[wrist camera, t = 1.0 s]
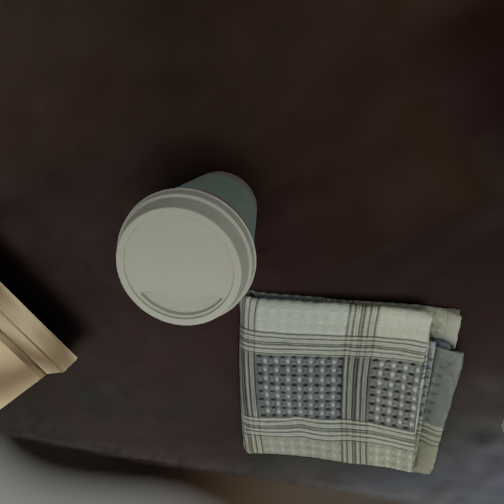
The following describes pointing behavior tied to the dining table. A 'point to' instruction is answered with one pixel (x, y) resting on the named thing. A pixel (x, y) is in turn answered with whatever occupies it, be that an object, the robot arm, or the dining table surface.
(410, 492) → the dining table surface
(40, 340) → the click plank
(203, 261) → the coffee cup
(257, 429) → the dish towel
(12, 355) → the laid plank
